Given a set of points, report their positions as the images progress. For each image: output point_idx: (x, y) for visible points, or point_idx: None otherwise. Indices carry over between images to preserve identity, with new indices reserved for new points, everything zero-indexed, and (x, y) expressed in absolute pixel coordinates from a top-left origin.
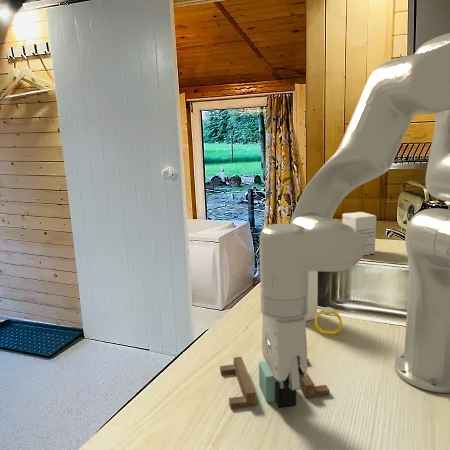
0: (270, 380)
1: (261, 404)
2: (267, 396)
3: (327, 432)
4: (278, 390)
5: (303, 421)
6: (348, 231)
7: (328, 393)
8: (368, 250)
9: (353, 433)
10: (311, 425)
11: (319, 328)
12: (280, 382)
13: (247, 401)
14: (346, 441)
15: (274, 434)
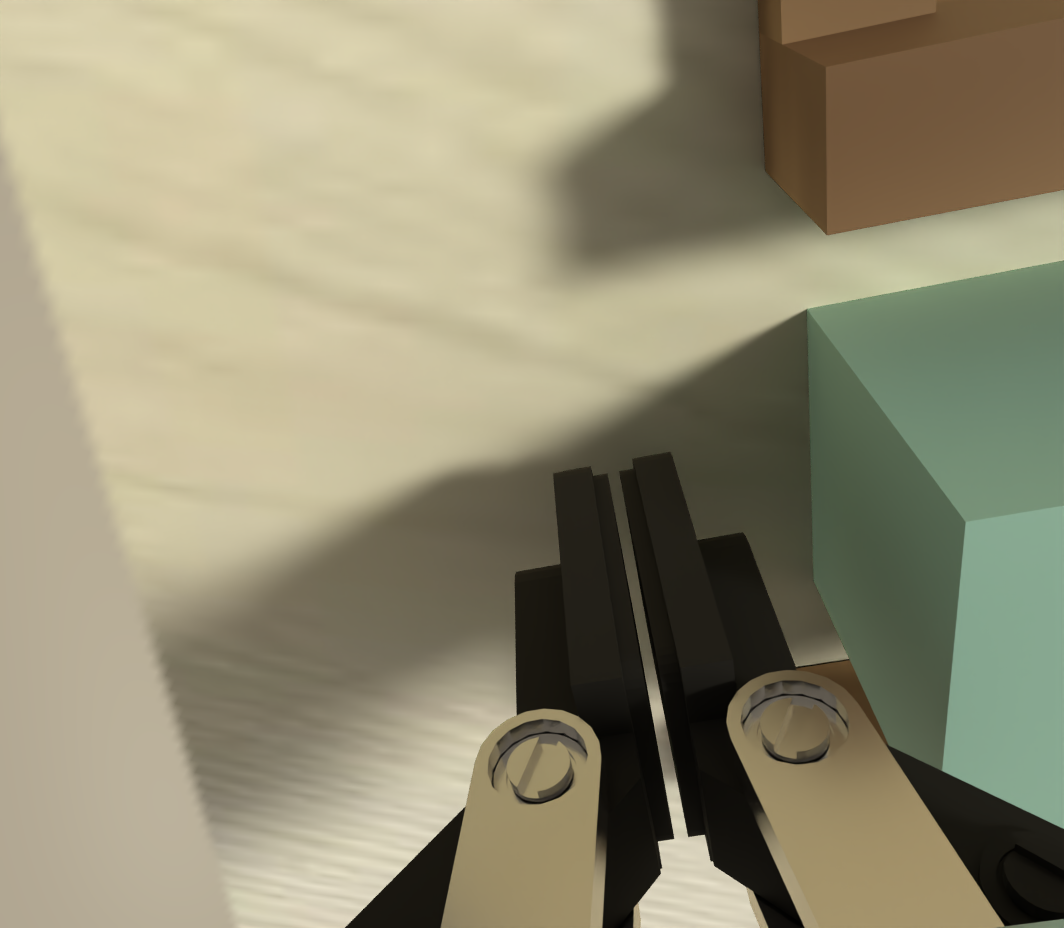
0: (928, 536)
1: (775, 246)
2: (831, 358)
3: (330, 750)
4: (568, 654)
5: (458, 619)
6: None
7: None
8: None
9: (339, 870)
10: (406, 667)
11: None
12: (479, 851)
13: (782, 60)
14: (248, 830)
15: (236, 361)
